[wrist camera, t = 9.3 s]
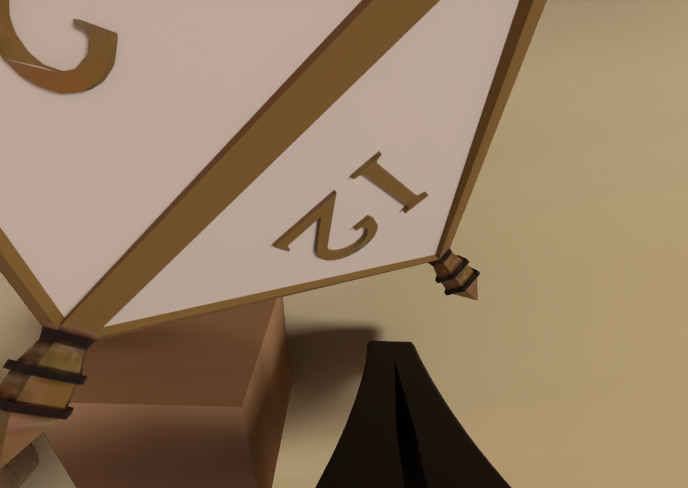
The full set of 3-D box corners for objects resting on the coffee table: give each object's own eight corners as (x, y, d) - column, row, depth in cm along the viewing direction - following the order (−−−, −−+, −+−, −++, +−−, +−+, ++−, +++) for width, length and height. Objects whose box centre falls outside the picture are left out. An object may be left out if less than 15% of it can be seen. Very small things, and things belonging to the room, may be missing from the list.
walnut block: (291, 384, 14) (264, 524, 10) (171, 381, 14) (94, 518, 10) (281, 282, 11) (241, 407, 7) (139, 280, 12) (25, 401, 8)
